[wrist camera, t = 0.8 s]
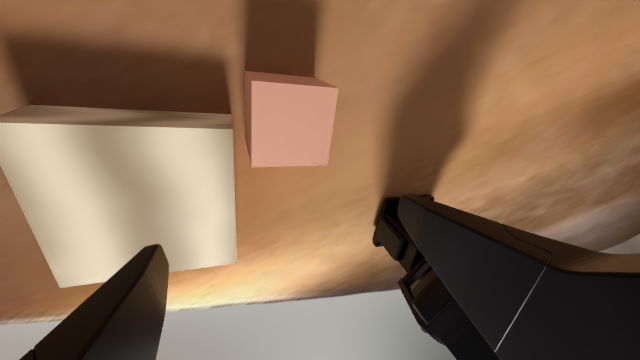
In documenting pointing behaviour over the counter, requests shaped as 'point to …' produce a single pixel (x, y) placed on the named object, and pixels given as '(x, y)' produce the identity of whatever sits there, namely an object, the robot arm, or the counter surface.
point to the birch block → (122, 186)
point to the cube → (288, 119)
